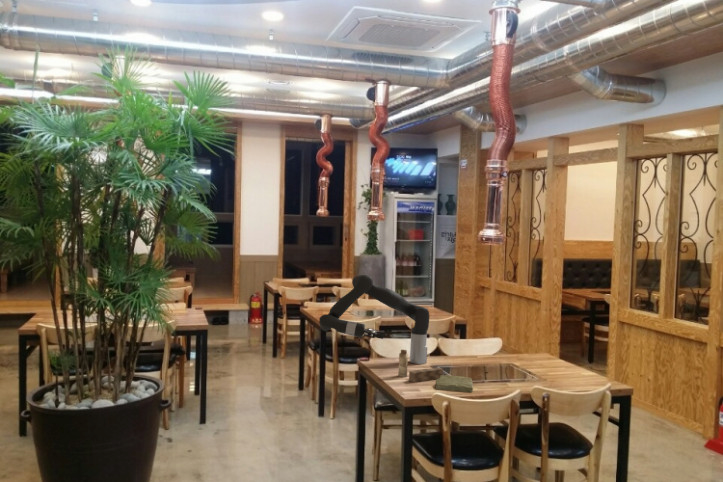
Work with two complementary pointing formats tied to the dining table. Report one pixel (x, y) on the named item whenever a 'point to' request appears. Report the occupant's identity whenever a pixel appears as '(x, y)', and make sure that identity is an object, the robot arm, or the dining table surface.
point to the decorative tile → (454, 383)
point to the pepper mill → (403, 363)
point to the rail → (425, 374)
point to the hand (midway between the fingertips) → (384, 335)
